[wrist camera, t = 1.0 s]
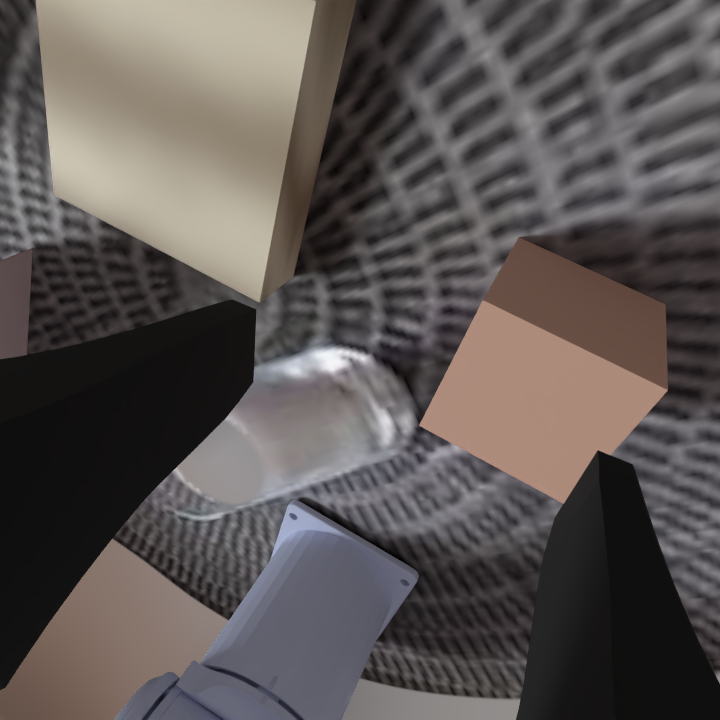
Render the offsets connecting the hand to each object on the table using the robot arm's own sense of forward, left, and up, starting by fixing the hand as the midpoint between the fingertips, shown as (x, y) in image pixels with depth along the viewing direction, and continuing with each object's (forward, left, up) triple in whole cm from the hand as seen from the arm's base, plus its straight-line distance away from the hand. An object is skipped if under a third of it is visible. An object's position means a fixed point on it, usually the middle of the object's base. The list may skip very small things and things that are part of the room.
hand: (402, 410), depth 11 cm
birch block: (0, +12, -10) cm, 16 cm away
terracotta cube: (-2, -3, -10) cm, 10 cm away
